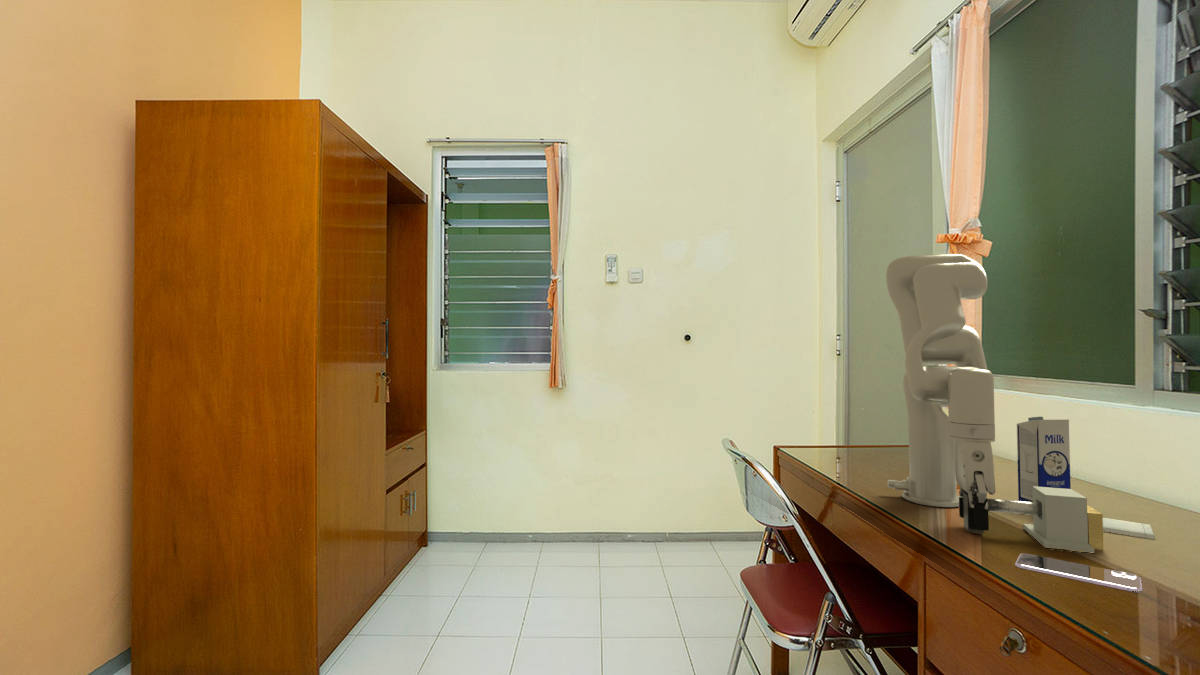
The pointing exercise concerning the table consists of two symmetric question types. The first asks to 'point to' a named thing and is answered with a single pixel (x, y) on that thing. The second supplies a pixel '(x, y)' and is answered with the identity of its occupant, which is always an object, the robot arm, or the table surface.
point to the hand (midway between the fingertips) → (973, 522)
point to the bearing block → (1060, 519)
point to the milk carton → (1042, 455)
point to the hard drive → (1128, 528)
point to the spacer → (1095, 528)
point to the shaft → (1003, 508)
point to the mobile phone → (1080, 572)
